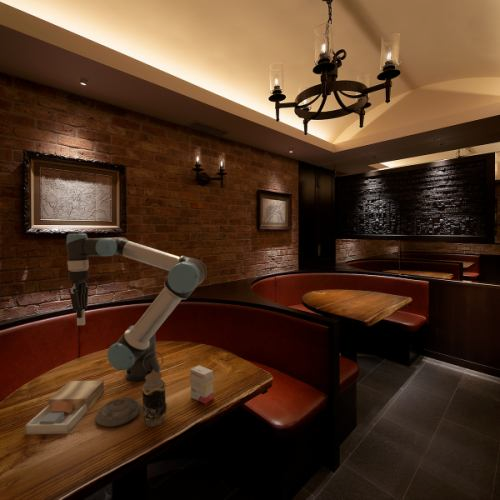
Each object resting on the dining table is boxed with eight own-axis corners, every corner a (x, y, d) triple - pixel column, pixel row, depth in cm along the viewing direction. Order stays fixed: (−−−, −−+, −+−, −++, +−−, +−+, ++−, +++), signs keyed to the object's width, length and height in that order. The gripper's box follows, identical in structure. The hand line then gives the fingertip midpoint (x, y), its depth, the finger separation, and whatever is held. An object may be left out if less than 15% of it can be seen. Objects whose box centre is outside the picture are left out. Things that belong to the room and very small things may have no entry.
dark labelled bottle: (143, 431, 96) (140, 359, 94) (140, 417, 103) (138, 350, 101) (169, 422, 100) (167, 353, 98) (165, 410, 107) (163, 345, 105)
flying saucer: (111, 436, 94) (110, 420, 94) (87, 420, 102) (86, 405, 102) (149, 411, 107) (148, 397, 106) (125, 399, 115) (124, 386, 114)
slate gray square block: (54, 421, 95) (54, 429, 96) (64, 411, 100) (64, 419, 101) (39, 421, 96) (39, 429, 96) (50, 411, 100) (50, 419, 101)
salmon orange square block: (71, 413, 104) (74, 404, 106) (64, 411, 100) (67, 401, 102) (57, 413, 104) (60, 404, 106) (50, 411, 100) (53, 402, 102)
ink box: (214, 398, 114) (213, 370, 113) (205, 404, 110) (205, 375, 109) (199, 391, 119) (198, 364, 118) (190, 397, 115) (189, 369, 114)
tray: (86, 411, 106) (86, 403, 106) (67, 433, 95) (67, 424, 95) (49, 412, 106) (48, 404, 106) (25, 434, 95) (24, 425, 95)
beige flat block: (104, 391, 119) (103, 380, 119) (86, 411, 106) (86, 398, 106) (70, 392, 119) (69, 381, 119) (49, 412, 106) (48, 399, 106)
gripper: (77, 268, 126) (79, 320, 128) (60, 272, 114) (63, 330, 115) (94, 267, 127) (97, 319, 129) (80, 272, 114) (83, 329, 116)
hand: (81, 324), depth 122 cm, fingers closed
